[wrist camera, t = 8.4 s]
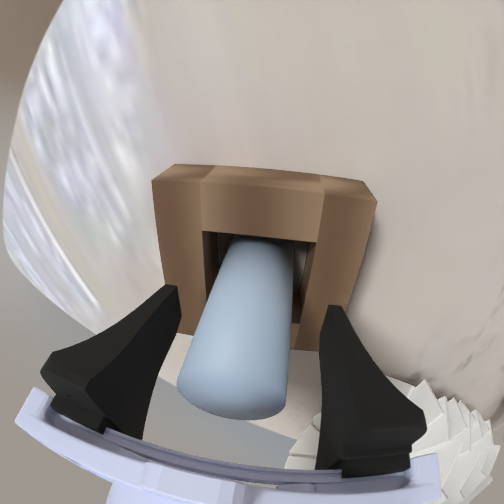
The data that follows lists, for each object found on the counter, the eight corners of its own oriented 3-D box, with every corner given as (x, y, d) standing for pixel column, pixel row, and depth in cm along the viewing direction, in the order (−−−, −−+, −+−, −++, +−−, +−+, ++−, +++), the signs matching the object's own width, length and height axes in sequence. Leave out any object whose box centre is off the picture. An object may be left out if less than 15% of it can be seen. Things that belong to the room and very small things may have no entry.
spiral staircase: (366, 326, 25) (460, 391, 29) (261, 441, 27) (384, 470, 31) (491, 446, 7) (530, 454, 11) (285, 577, 9) (427, 545, 13)
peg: (297, 227, 16) (293, 377, 8) (290, 281, 18) (278, 425, 10) (229, 220, 17) (167, 357, 8) (230, 274, 19) (185, 409, 10)
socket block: (362, 181, 14) (377, 201, 12) (327, 320, 20) (330, 352, 17) (174, 164, 15) (151, 180, 13) (187, 303, 21) (174, 332, 18)
